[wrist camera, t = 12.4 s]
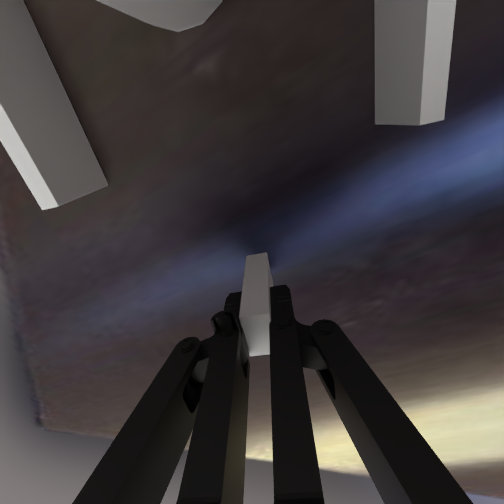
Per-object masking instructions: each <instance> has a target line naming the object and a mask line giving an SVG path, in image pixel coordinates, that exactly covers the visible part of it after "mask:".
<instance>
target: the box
mask: <svg viewBox="0 0 504 504" xmlns="http://www.w3.org/2000/svg"><path fill="white" fill-rule="evenodd" d="M455 8H456V0H374V26H375V124H381V125H424V124H428V123H433V122H437V121H442V120H444V115H445V105H446V96H447V86H448V76H449V66H450V57H451V47H452V37H453V27H454V18H455ZM0 141H1V142H2V144H3V146H4V147H5V149H6V151H7V152H8V154H9V156H10V157H11V159H12V161H13V162H14V164H15V166H16V167H17V169H18V171H19V172H20V174H21V176H22V177H23V179H24V181H25V182H26V184H27V186H28V187H29V189H30V191H31V192H32V194H33V196H34V197H35V199H36V201H37V202H38V204H39V206H40V207H41V209H42V210H45V209H49V208H54V207H58V206H61V205H63V204H66V203H68V202H71V201H73V200H75V199H78V198H80V197H82V196H85V195H87V194H90V193H92V192H94V191H97V190H99V189H102V188H104V187H106V186H109V185H108V182H107V180H106V178H105V176H104V174H103V172H102V169H101V167H100V165H99V163H98V161H97V159H96V156H95V154H94V152H93V150H92V148H91V146H90V143H89V141H88V139H87V137H86V135H85V133H84V130H83V128H82V126H81V124H80V122H79V120H78V117H77V115H76V113H75V111H74V109H73V107H72V104H71V102H70V100H69V98H68V96H67V94H66V91H65V89H64V87H63V85H62V83H61V81H60V78H59V76H58V74H57V72H56V70H55V68H54V65H53V63H52V61H51V59H50V57H49V55H48V52H47V50H46V48H45V46H44V44H43V42H42V39H41V37H40V35H39V33H38V31H37V29H36V26H35V24H34V22H33V20H32V18H31V16H30V13H29V11H28V9H27V7H26V5H25V3H24V0H0Z"/></svg>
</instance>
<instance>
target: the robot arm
mask: <svg viewBox="0 0 504 504" xmlns="http://www.w3.org/2000/svg"><path fill="white" fill-rule="evenodd" d="M211 324H212V327H213V330H214V332H215V334H214V335H213V336H212V337H210V338H208V339H205V340H203V341H200V340H199V339H198V338H196V337H188V338H185V339H183V340H182V341H180V342H179V343H178V344H177V345H176V347H175V348H174V350H173V351H172V353H171V354H170V356H169V357H168V359H167V360H166V362H165V363H164V365H163V366H162V368H161V369H160V371H159V372H158V374H157V375H156V377H155V379H154V380H153V382H152V383H151V385H150V386H149V388H148V389H147V391H146V392H145V394H144V395H143V397H142V398H141V400H140V401H139V403H138V404H137V406H136V407H135V409H134V410H133V412H132V414H131V415H130V417H129V418H128V420H127V421H126V423H125V424H124V426H123V427H122V429H121V430H120V432H119V433H118V435H117V436H116V438H115V439H114V441H113V442H112V444H111V446H110V447H109V449H108V450H107V452H106V453H105V455H104V456H103V458H102V459H101V461H100V462H99V464H98V465H97V467H96V468H95V470H94V471H93V473H92V475H91V476H90V477H89V479H88V480H87V482H86V484H85V485H84V487H83V488H82V490H81V491H80V493H79V494H78V496H77V497H76V499H75V500H74V502H73V503H72V504H160V503H161V501H162V499H163V496H164V494H165V492H166V490H167V487H168V485H169V482H170V480H171V478H172V476H173V473H174V471H175V469H176V466H177V464H178V462H179V459H180V457H181V455H182V453H183V450H184V448H185V446H186V444H187V441H188V439H189V437H190V434H191V432H192V430H193V432H192V437H191V441H190V446H189V450H188V455H187V459H186V464H185V469H184V473H183V477H182V482H181V486H180V491H179V496H178V500H177V503H176V504H243V495H244V474H245V454H246V434H247V413H248V392H249V371H250V364H249V359H248V351H249V354H250V356H258V355H267V354H270V374H271V407H272V441H273V474H274V504H324V498H323V491H322V485H321V479H320V473H319V467H318V460H317V454H316V448H315V442H314V436H313V429H312V423H311V417H310V411H309V405H308V398H307V392H306V386H305V380H304V374H303V367H305V368H311V369H316V371H317V373H318V375H319V377H320V379H321V381H322V383H323V385H324V387H325V389H326V391H327V393H328V395H329V397H330V399H331V401H332V403H333V404H334V406H335V408H336V410H337V412H338V414H339V416H340V418H341V420H342V422H343V424H344V426H345V428H346V430H347V432H348V434H349V436H350V437H351V439H352V441H353V443H354V445H355V447H356V449H357V451H358V453H359V455H360V457H361V459H362V461H363V463H364V465H365V467H366V469H367V470H368V472H369V474H370V476H371V478H372V480H373V482H374V484H375V486H376V488H377V490H378V492H379V494H380V496H381V498H382V500H383V502H384V503H385V504H473V503H472V501H471V500H470V499H469V498H468V496H467V495H466V493H465V492H464V491H463V489H462V488H461V487H460V486H459V484H458V483H457V482H456V480H455V479H454V478H453V476H452V475H451V474H450V472H449V471H448V470H447V468H446V467H445V466H444V464H443V463H442V462H441V460H440V459H439V458H438V456H437V455H436V454H435V453H434V451H433V450H432V449H431V447H430V446H429V445H428V443H427V442H426V441H425V439H424V438H423V437H422V435H421V434H420V433H419V431H418V430H417V429H416V427H415V426H414V425H413V423H412V422H411V421H410V419H409V418H408V417H407V416H406V414H405V413H404V412H403V410H402V409H401V408H400V406H399V405H398V404H397V402H396V401H395V400H394V398H393V397H392V396H391V394H390V393H389V392H388V390H387V389H386V388H385V386H384V385H383V384H382V383H381V381H380V380H379V379H378V377H377V376H376V375H375V373H374V372H373V371H372V369H371V368H370V367H369V365H368V364H367V363H366V361H365V360H364V359H363V357H362V356H361V355H360V353H359V352H358V351H357V350H356V348H355V347H354V346H353V344H352V343H351V342H350V340H349V339H348V338H347V336H346V335H345V334H344V332H343V331H342V330H341V328H340V327H339V326H338V325H337V324H336V323H335V322H333V321H331V320H325V319H324V320H318V321H316V322H314V323H313V325H312V326H307V325H303V324H301V323H299V322H297V321H296V319H295V317H294V312H293V306H292V300H291V294H290V289H289V288H288V287H287V286H286V285H280V286H273V281H272V276H271V271H270V266H269V260H268V255H267V252H266V253H260V254H254V255H247V256H246V263H245V271H244V280H243V288H242V292H236V293H230V294H229V296H228V297H227V298H226V302H225V306H224V311H221V312H218V313H217V314H215V315H214V316H213V317H212V319H211ZM193 427H194V428H193Z"/></svg>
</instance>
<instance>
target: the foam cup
mask: <svg viewBox="0 0 504 504" xmlns="http://www.w3.org/2000/svg"><path fill="white" fill-rule="evenodd" d="M96 1H99V2H101V3H103V4H105V5H108V6H110V7H112V8H114V9H116V10H119V11H121V12H123V13H125V14H128V15H130V16H132V17H134V18H136V19H139V20H141V21H143V22H145V23H148V24H152V25H153V26H157V27H161V28H165V29H168V30H172V31H176V32H180V31H183V30H186V29H189V28H193V27H196V26H199V25H202V24H203V23H204V22H205V21H206V20H207V19H208V18H209V16H210V15H211V14H212V13H213V12H214V11H215V10H216V8H217V7H218V6H219V5H220V4H221V3H222V1H223V0H96Z"/></svg>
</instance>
